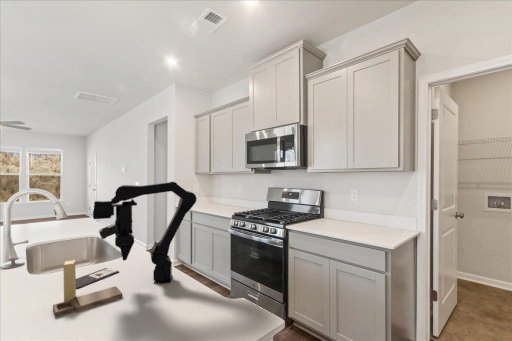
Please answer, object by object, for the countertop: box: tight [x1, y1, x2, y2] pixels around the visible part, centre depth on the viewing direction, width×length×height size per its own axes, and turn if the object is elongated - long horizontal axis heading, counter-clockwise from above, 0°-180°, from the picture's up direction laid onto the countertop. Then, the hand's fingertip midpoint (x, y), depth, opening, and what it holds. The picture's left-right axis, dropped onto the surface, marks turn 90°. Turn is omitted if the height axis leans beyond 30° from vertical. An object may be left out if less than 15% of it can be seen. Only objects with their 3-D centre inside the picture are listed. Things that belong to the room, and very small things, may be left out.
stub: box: [63, 259, 77, 302], centre depth 95 cm, size 3×4×13 cm
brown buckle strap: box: [52, 285, 123, 318], centre depth 92 cm, size 19×8×2 cm, turn 133°
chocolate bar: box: [76, 267, 120, 290], centre depth 113 cm, size 9×1×18 cm
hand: (124, 256), depth 104 cm, fingers open, 9 cm apart
